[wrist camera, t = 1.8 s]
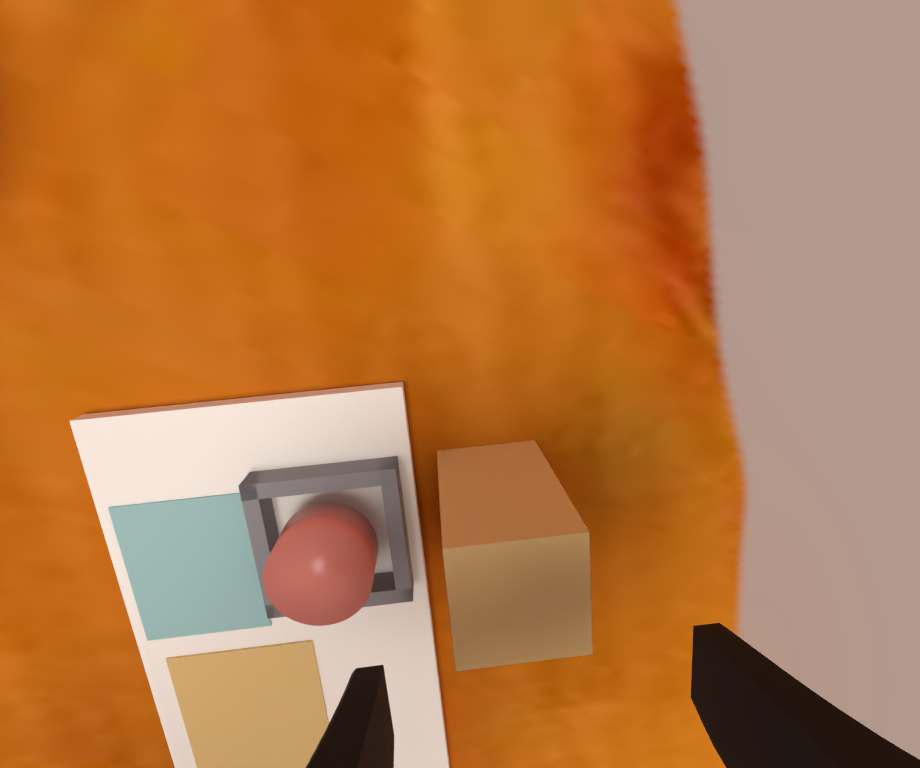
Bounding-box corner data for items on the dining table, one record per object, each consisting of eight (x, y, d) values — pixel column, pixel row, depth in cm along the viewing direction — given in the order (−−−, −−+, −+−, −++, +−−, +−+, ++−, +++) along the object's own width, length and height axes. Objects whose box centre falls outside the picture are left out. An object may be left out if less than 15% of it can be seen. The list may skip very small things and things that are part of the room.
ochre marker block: (539, 527, 21) (592, 654, 15) (446, 538, 21) (455, 671, 14) (534, 439, 20) (589, 532, 14) (436, 450, 20) (442, 549, 13)
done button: (384, 581, 19) (379, 619, 17) (289, 593, 19) (273, 631, 17) (371, 497, 18) (365, 525, 16) (271, 508, 18) (253, 538, 16)
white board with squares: (451, 777, 24) (453, 822, 22) (201, 810, 24) (181, 859, 22) (403, 381, 19) (400, 395, 17) (84, 413, 19) (44, 432, 17)
